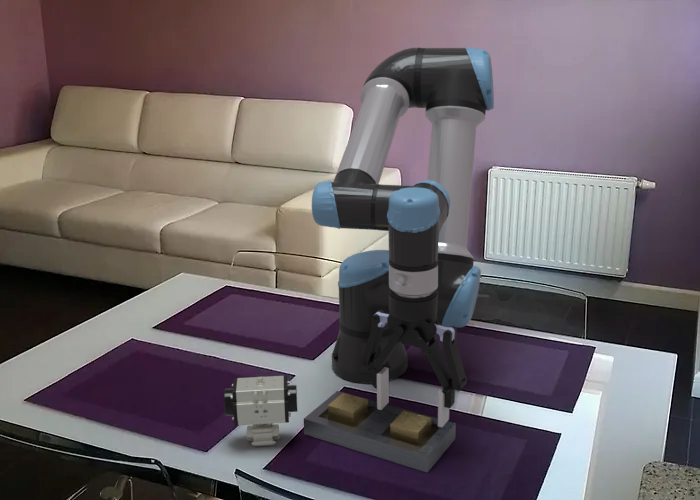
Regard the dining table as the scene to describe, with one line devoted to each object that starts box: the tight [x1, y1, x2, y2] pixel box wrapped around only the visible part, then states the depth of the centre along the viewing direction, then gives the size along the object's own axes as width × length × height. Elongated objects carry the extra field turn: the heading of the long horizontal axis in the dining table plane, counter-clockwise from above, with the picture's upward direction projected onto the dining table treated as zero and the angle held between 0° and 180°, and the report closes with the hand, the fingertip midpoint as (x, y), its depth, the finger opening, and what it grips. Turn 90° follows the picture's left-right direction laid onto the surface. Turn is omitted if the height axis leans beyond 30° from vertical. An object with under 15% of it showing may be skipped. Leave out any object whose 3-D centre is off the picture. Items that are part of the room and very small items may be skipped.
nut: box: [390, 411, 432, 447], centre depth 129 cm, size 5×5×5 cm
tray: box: [303, 390, 457, 474], centre depth 132 cm, size 23×11×3 cm, turn 60°
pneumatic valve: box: [223, 375, 298, 448], centre depth 130 cm, size 6×12×12 cm, turn 95°
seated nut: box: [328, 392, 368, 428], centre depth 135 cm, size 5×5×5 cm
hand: (412, 414), depth 129 cm, fingers open, 10 cm apart
